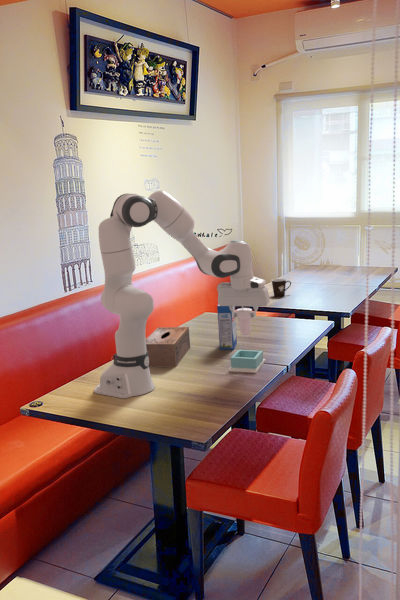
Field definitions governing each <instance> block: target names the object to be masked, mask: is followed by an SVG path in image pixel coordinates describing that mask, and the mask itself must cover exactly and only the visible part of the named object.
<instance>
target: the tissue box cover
mask: <svg viewBox="0 0 400 600" xmlns="http://www.w3.org/2000/svg"><path fill="white" fill-rule="evenodd" d="M190 339H191V338H190V327H189V326H168V327H167V326H162V327H160V326H159V327H157V328H156V329H155V330H153V332H151V334H149V335H148V336H147V337H146V348H147V351H148V356H149V368H150V367H157V368H159V367H160V368H161V367H162V368H163V367H165V368H167V367H169V368H170V367H172V368H176V367H177V366H178V365H179V363H180V362H181V361H182V360H183V359H184V357H185V356H186V354H187V353H188V352H189V350H190V349H191V340H190Z"/></svg>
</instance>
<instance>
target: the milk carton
mask: <svg viewBox="0 0 400 600" xmlns="http://www.w3.org/2000/svg"><path fill="white" fill-rule="evenodd" d="M216 309H217V323H218V324H217V325H218V341H219V350H220V351H234V350H235V349H236V346H237V344H238V341H237V324H236V317H233V313H232V312H231V310H230V309H229V306H220V305H219V304H218V303H217V306H216ZM234 310H235V311H236V306H234Z"/></svg>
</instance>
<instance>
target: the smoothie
mask: <svg viewBox="0 0 400 600" xmlns="http://www.w3.org/2000/svg"><path fill="white" fill-rule="evenodd" d="M235 312H236V314H237V317H236V318H237V321H238V325H239V331H240V335H242V336H249V335H250V334H251V330H252V329H251V328H252V327H251V326H252V317H251V313H252V312H253V309H252V308H250V307H244V306H241V308H237V309H235Z"/></svg>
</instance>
